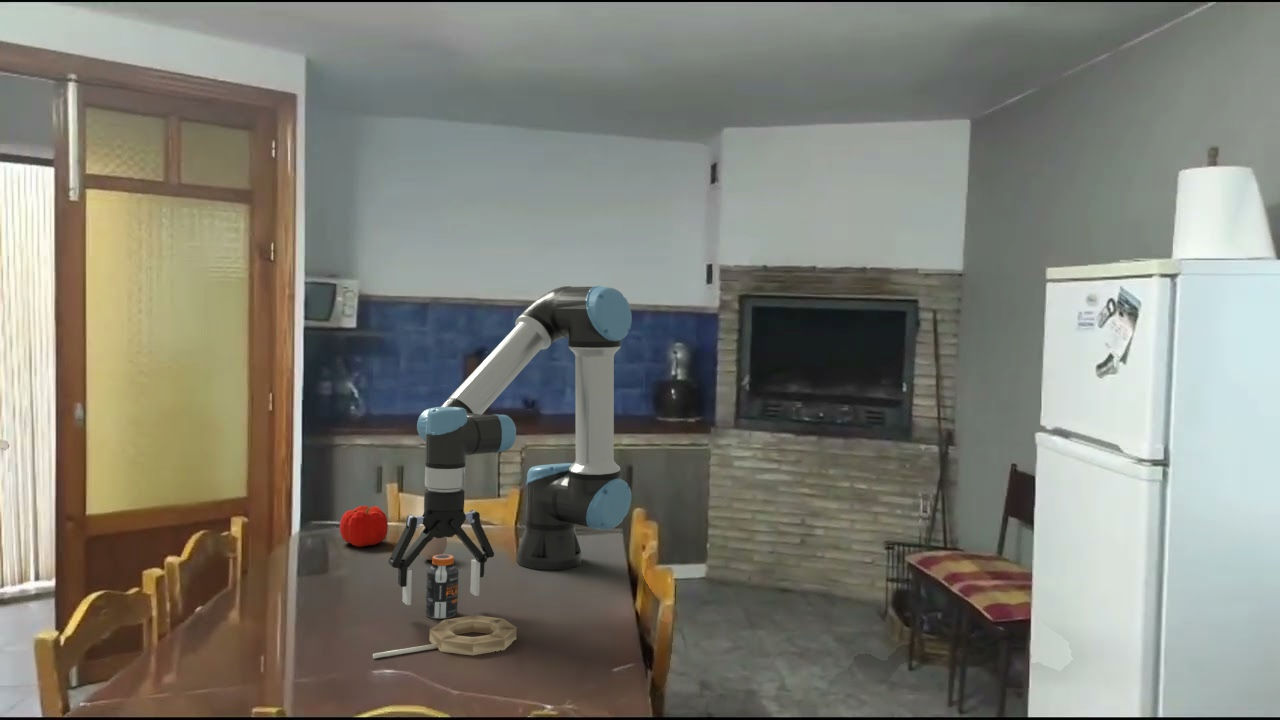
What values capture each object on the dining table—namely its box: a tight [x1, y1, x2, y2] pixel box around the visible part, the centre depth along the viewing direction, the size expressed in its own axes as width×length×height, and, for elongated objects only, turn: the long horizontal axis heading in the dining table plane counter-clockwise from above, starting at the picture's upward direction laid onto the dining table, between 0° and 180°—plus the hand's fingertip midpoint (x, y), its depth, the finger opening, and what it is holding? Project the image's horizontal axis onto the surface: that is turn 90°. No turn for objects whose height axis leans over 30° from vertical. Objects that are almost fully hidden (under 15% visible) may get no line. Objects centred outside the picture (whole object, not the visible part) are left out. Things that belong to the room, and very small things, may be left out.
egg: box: [418, 525, 448, 561], centre depth 219 cm, size 7×7×9 cm
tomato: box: [339, 505, 389, 548], centre depth 231 cm, size 11×12×9 cm
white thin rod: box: [372, 643, 438, 660], centre depth 159 cm, size 11×1×1 cm, turn 122°
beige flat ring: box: [429, 614, 518, 656], centre depth 166 cm, size 14×14×2 cm
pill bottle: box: [425, 553, 459, 620], centre depth 180 cm, size 6×6×11 cm
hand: (441, 598), depth 180 cm, fingers open, 13 cm apart
